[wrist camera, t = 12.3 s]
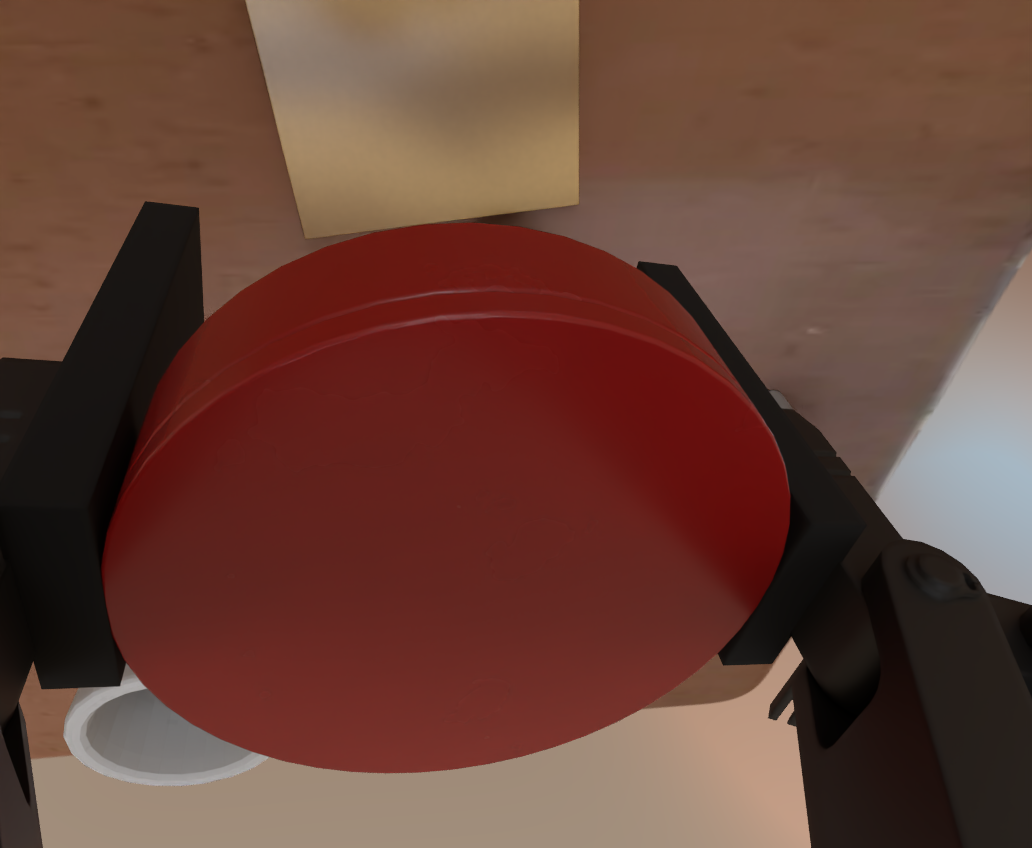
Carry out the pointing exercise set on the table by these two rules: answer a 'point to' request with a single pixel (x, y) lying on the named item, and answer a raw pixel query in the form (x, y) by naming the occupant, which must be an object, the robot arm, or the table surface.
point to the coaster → (422, 107)
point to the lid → (439, 504)
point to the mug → (146, 739)
